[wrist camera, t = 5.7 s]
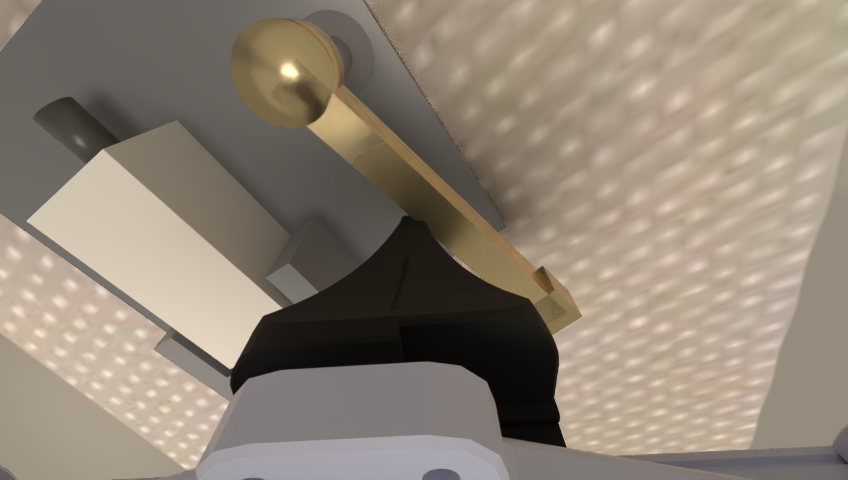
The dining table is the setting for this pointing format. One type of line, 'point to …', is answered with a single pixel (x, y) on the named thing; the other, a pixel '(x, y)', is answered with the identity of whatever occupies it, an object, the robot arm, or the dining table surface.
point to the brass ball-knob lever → (378, 153)
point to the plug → (165, 228)
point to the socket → (217, 128)
